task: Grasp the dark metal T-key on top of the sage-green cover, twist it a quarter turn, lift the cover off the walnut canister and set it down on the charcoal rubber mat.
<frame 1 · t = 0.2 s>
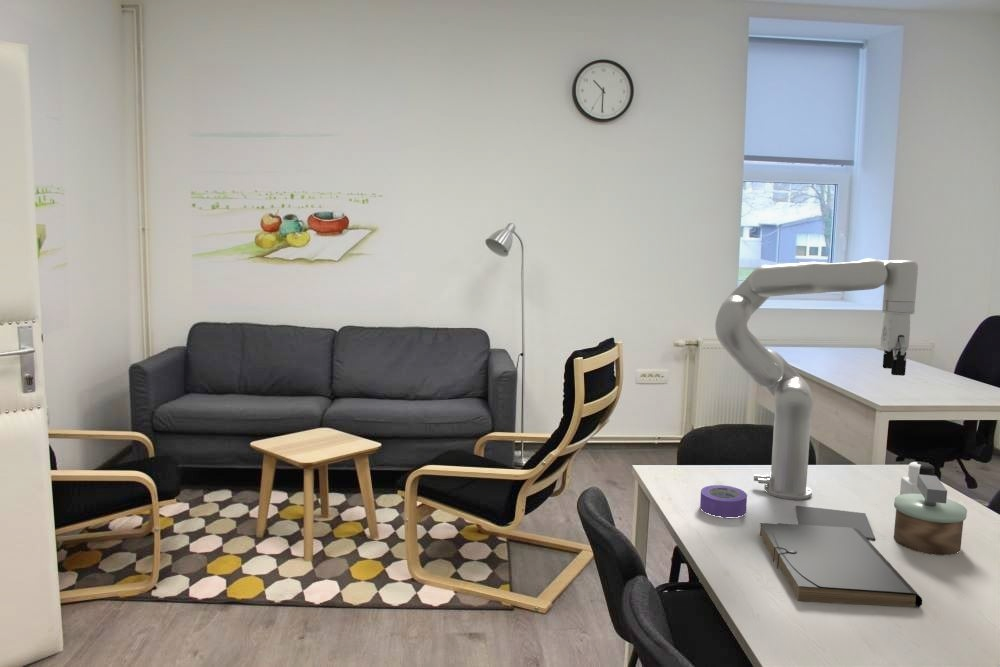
hand: (893, 371, 204), 37 cm above the table, tool pointing down, fingers open, 9 cm apart
tape roll: (722, 511, 203), on the table
canister: (926, 542, 184), on the table
mat: (833, 522, 195), on the table
cover: (929, 510, 182), point 8 cm above the table, touching canister
medicine bottle: (918, 507, 207), on the table
file folder: (831, 570, 170), on the table
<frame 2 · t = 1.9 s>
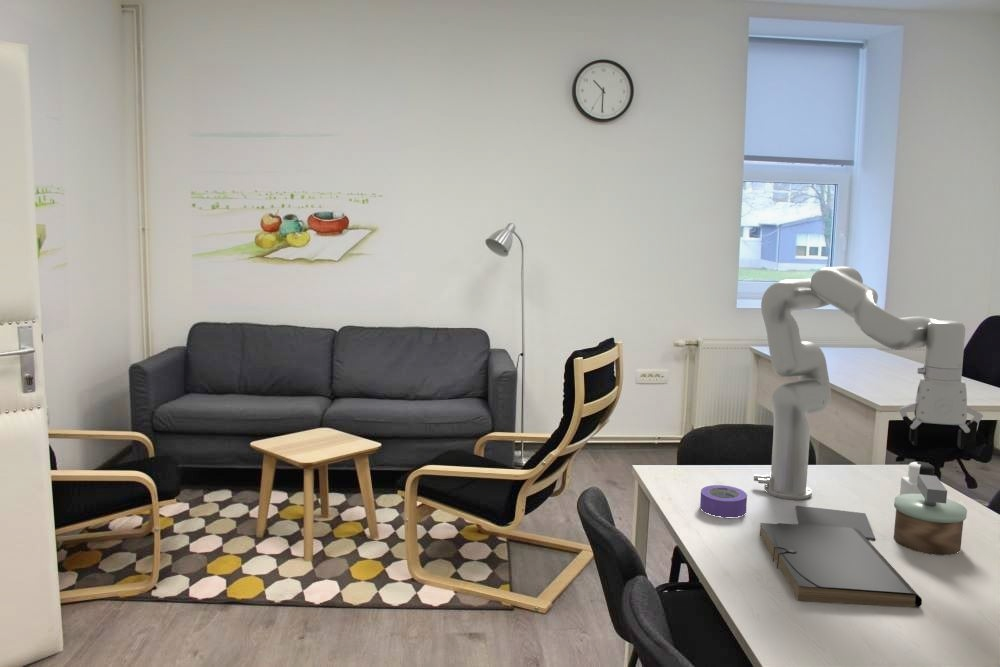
hand: (937, 446, 180), 24 cm above the table, tool pointing down, fingers open, 9 cm apart
nothing on the table moved.
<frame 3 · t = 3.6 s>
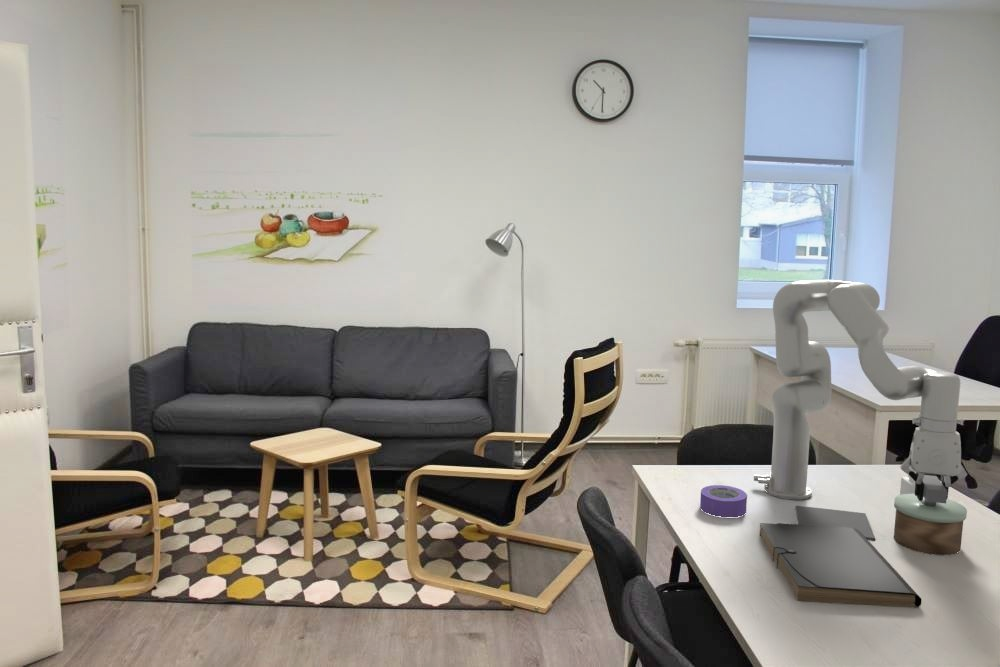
hand: (930, 499, 182), 11 cm above the table, tool pointing down, fingers closed on cover, 4 cm apart
cover: (929, 510, 182), point 8 cm above the table, touching canister, gripper
everything else where it was.
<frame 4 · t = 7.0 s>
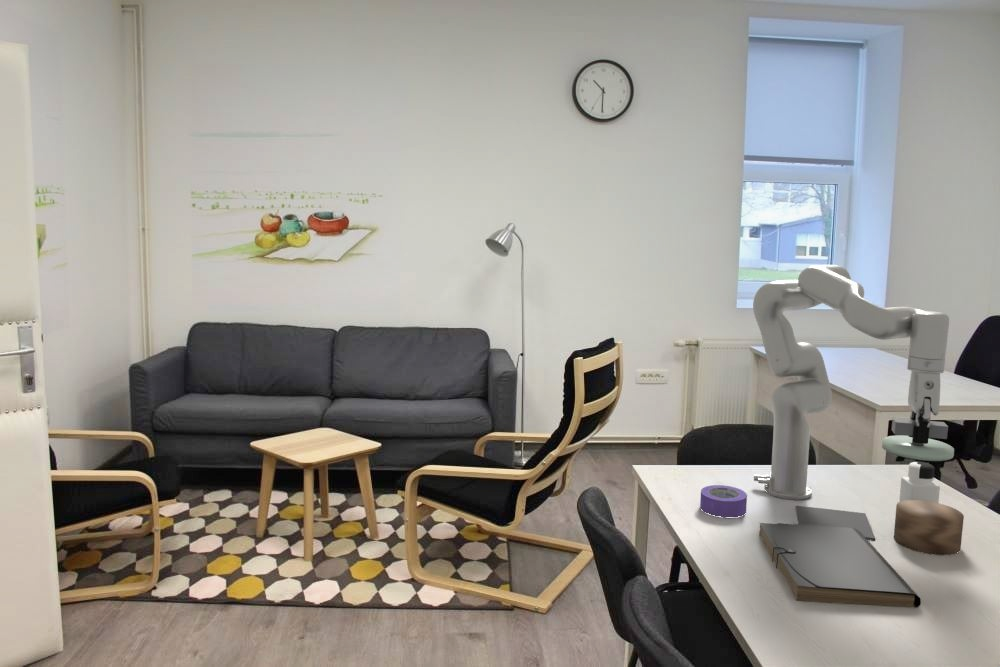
hand: (917, 439, 182), 25 cm above the table, tool pointing down, fingers closed on cover, 4 cm apart
cover: (916, 450, 183), point 22 cm above the table, touching gripper
everything else where it was.
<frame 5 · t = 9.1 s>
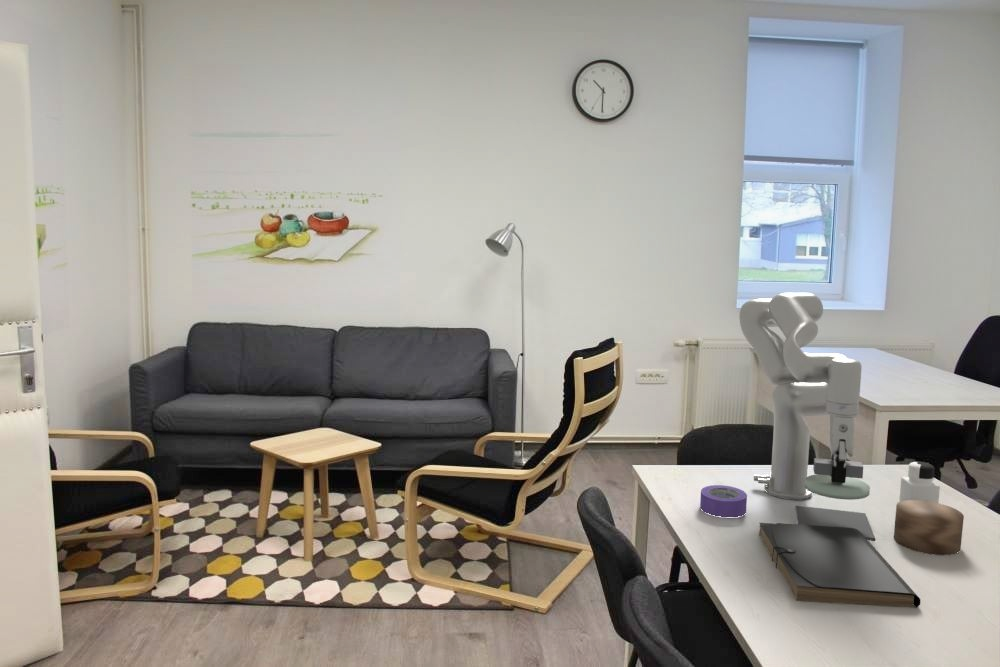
hand: (837, 478, 193), 12 cm above the table, tool pointing down, fingers closed on cover, 4 cm apart
cover: (836, 489, 194), point 9 cm above the table, touching gripper
everything else where it was.
when the fingers open (5 cm above the table, at t = 10.7 s): cover drops 1 cm, resting on mat.
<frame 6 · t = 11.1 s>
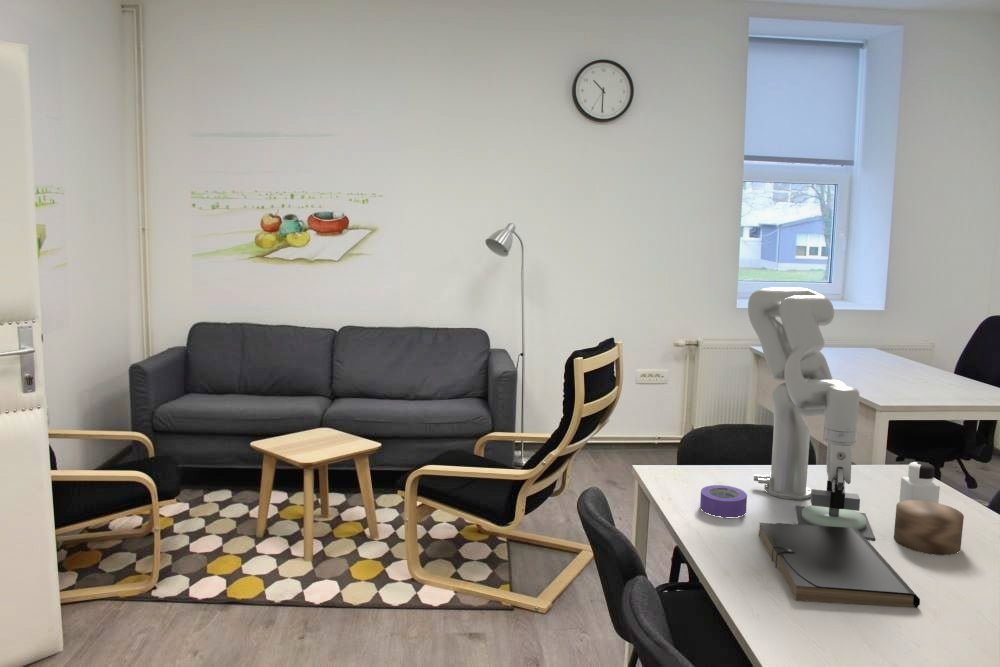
hand: (834, 501, 194), 6 cm above the table, tool pointing down, fingers open, 8 cm apart
cover: (833, 520, 195), point 1 cm above the table, touching mat
everything else where it was.
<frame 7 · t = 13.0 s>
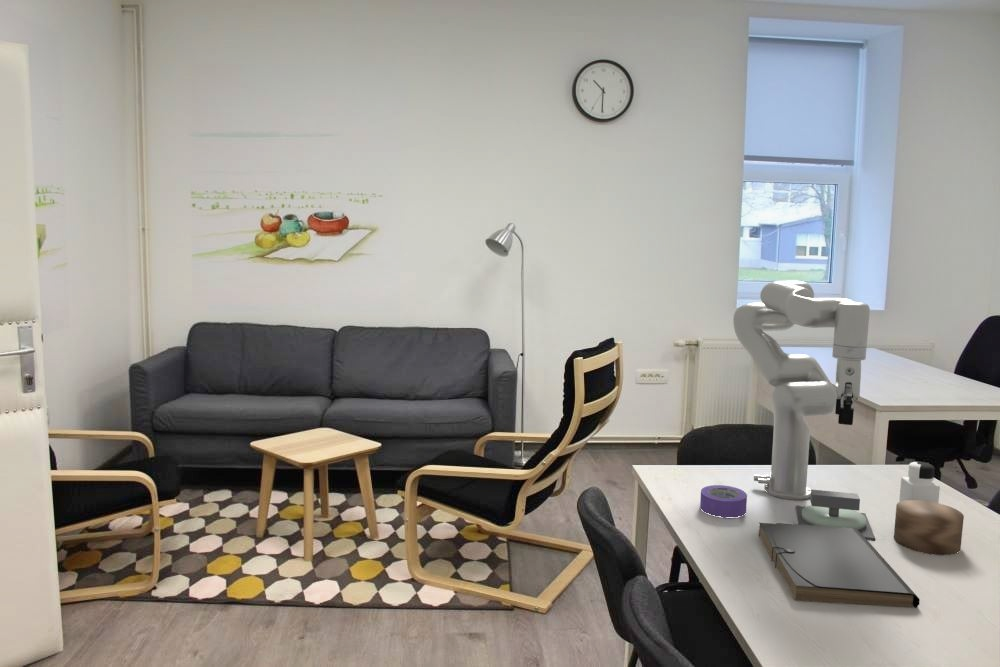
hand: (843, 419, 192), 27 cm above the table, tool pointing down, fingers open, 9 cm apart
nothing on the table moved.
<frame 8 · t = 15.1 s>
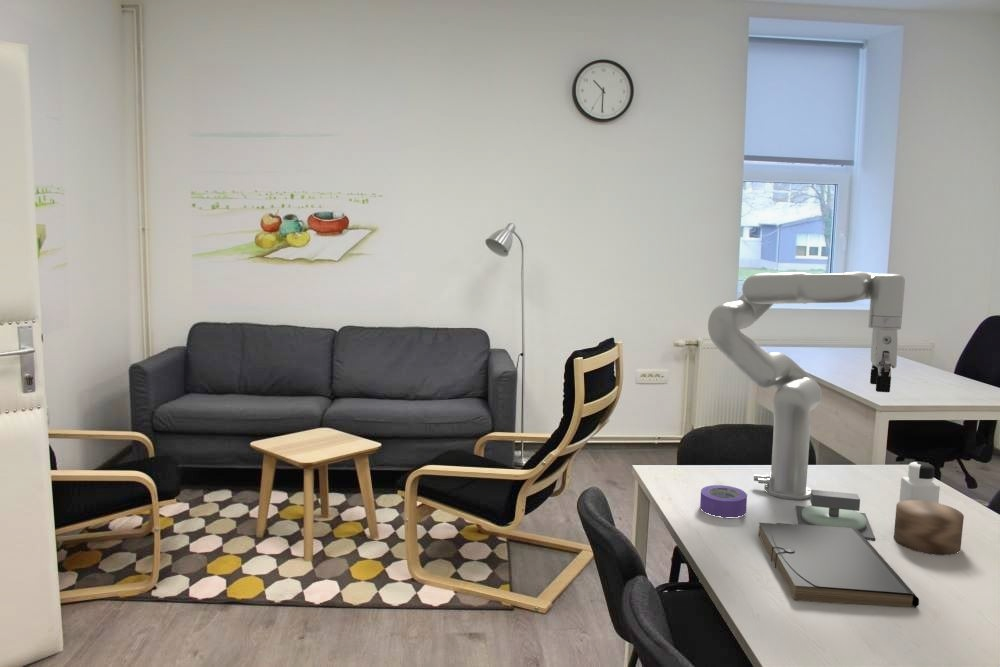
hand: (879, 387, 199), 33 cm above the table, tool pointing down, fingers open, 9 cm apart
nothing on the table moved.
at the end: cover inside the target area on the mat (0.1 cm from its centre), point 0.5 cm above the mat's base; cover tilted 0°; the gripper is holding nothing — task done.
